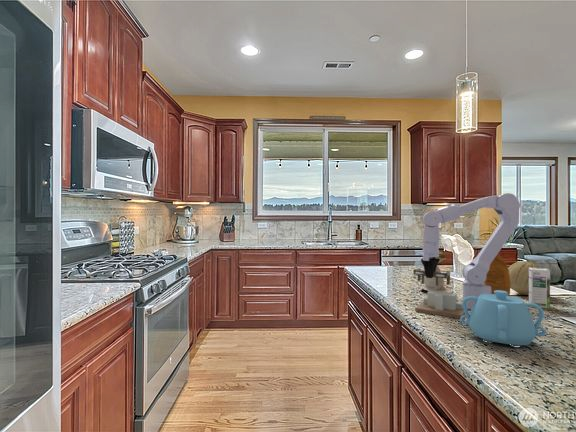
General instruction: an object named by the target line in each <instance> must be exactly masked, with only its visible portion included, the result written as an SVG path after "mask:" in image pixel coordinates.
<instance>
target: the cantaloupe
mask: <svg viewBox="0 0 576 432" xmlns="http://www.w3.org/2000/svg"><path fill="white" fill-rule="evenodd" d="M529 267H530V268H542V267H541V266H540V265H538V264H536V263H534V260H531V261H526V260H525V261H523V260H520V261H517V262H515V263H512V264H511V265H510V266H508V269H509V275H510V283H511V288H510V290H512V291H514V292H516V293H517V294H519V295H522V296H529Z"/></svg>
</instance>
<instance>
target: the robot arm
mask: <svg viewBox="0 0 576 432" xmlns="http://www.w3.org/2000/svg"><path fill="white" fill-rule="evenodd" d="M485 208H487V209H492V210H494V211H495V212H496V213H497V215H498V217H499V220H500V222H499V223H498V225H497V226H496V228H495V229H494V231H493V233H492V234H491V236H490V237H489V238H488V240H487V241H486V243H485V244H484V246H483V247H482V249H480V251H479V252H478V254H477V256H476V257H474V258H473V259H472V260H471V261H470V262H469V264H466V265H465V266H464V267H463V268H462V269H461V270H462V271H461V274H462V276H463V278H464V279H463V281H462V300H463V299H464V298H466V297H468V296H475V297H477V298H478V297H479V295H481V294H492V290H491V286H486V285H485V283H484V282H485V280H486V275H487V272H488V271H489V267H490V264H491V262H492V261H493V260H494V258H495V257H496V255H497V254H498V253H499V254H500V252H499V251H500V250H501V251H502V248H503V247H504V245H505V244H506V242H507V241H508V240H509V238H510V237H511V236H512V234H513V232H514V231H515V230H516V229H517V227H518V226H519V224H520V208H521V203H520V201H519V199H518V197H517V196H516V195H515V194H513V193H510V192H506V193H502V194H497V195H490V196H485V197H481V198H478V199H476V200H473V201H470V202H467V203H464V204H461V205H457V204H454V203H453V204H451V203H448V204H446V205H445V206H444V207H441V208H434V209H433V210H431V211H428V212H426V213H424V215H423V217H422V223H423V230H422V252H419V256H422V258H421V259H420V262H421V263H422V266H423V269H424V271H425V275H426V278H432V277H433V273H434V272H435V271H436V267H437V266H438V264H439V263H440V262H439V261H440V259H436V258H435V257H439V252H440V250H439V249H440V230H439V225H440V223H441V224H445V223H448V222H451V221H455V220H458V219H460V217H461V216H462V215H463V214H466V213H470V212H472V211H476V210H480V209H485ZM475 302H476V300H467V301H466V306H467V310H470V311H471V310H472V307H473V305H474V303H475Z"/></svg>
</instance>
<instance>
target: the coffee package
mask: <svg viewBox="0 0 576 432" xmlns="http://www.w3.org/2000/svg"><path fill="white" fill-rule="evenodd" d="M501 252H502V249H501V250H500V251H499V253H498V254H497V255H496V257H495V258H494V260H493V261H492V262H491V264H490V267H489V271H488V272H487V275H486V280H485V282H484V283H485V285H486V286H491V290H492V294H495V293H494V291H495V290H501V291H506V292H508V295H507V296H511V283H510V275H509V269H508V268H509V266H508V264H507V263H506V262H505V260H504V259H503V257H502V256H501V255H500V253H501Z"/></svg>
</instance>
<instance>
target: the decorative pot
mask: <svg viewBox="0 0 576 432" xmlns="http://www.w3.org/2000/svg"><path fill="white" fill-rule="evenodd" d="M494 293H495V294H481V295H479V297H478V298H477V297H475V296H468V297H466V298H464V299H463V298H462V302H461V303H462V306H463V309H464V312H465V315H463V316H461V318H460V319H459V320H460V322H461V323H462V324H463V325H465V326H469V328H470V330H471V331H472V333H473V334H474V335H475V336H476V337H478V338H480V339H481V340H482V339H483V340H484V341H487V342H486V343H488V342H492V343H493V342H494V343H499V344H504V345H509V344H511V345H513V346H521V347H522V346H528V345H530V344H531V343H532V342H533V341H534V339H535V337H544V336H545V335H546V334H547V333H546V332H547V330H546V329H545V327H543V326H540V325H541V323H542V321H543V320H544V315H545V312H544V308H541V307H540V306H539V305H537V304H534V303H529V302H525V301H524V300H523V299H522V298H520V297H517V296H512V295H510V296H507V295H508V292H506V291H501V290H495V291H494ZM467 300H476V302H475V303H474V305H473V307H472V310H471V309H470V312H469V309H467V306H466V301H467ZM529 307H532V308H534V309H536V310H537V311H538V316H537V319H536V321H534V319H533V316H532V313H531V311H530V309H529ZM465 319H466V320H465ZM538 330H541V332H539V331H538ZM484 341H483V342H484Z"/></svg>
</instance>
